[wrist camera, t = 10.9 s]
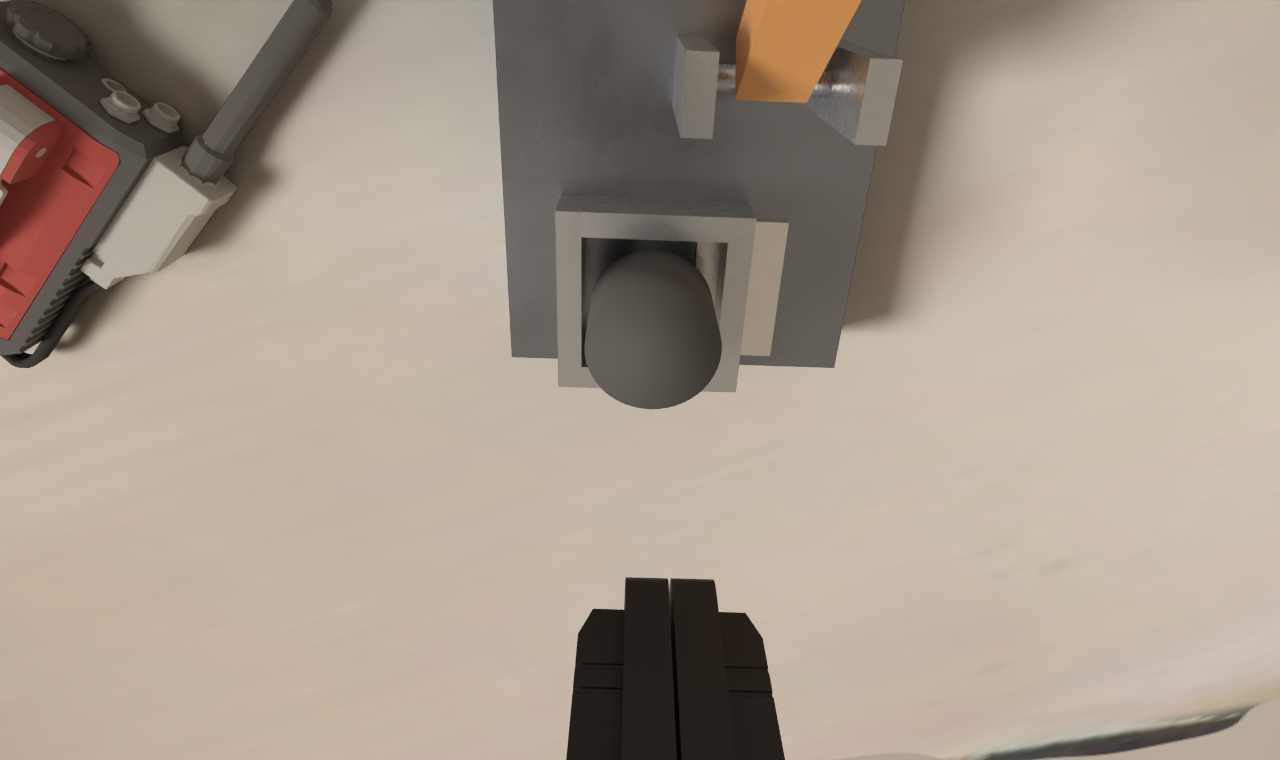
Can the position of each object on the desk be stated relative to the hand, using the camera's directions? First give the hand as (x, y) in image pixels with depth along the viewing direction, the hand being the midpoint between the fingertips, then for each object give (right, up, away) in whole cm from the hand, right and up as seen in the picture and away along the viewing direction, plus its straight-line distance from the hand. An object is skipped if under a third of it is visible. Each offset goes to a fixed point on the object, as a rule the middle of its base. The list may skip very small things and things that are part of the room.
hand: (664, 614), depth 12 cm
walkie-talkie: (-20, +13, +14) cm, 27 cm away
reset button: (0, +6, +11) cm, 13 cm away
